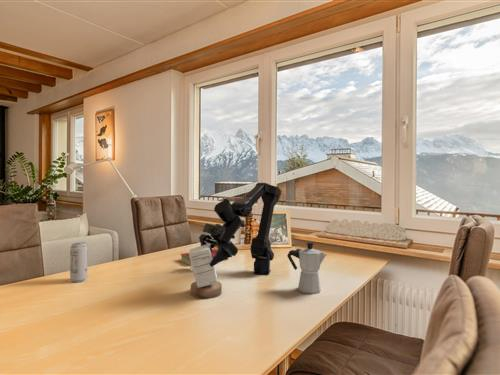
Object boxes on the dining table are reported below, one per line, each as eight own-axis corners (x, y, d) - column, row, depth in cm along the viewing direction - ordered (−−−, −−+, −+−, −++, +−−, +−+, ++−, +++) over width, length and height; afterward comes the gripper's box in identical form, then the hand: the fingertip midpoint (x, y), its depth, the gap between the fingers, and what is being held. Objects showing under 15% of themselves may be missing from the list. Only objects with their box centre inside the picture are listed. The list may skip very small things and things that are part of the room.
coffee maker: (327, 288, 119) (328, 241, 119) (325, 296, 111) (326, 245, 111) (289, 283, 124) (289, 238, 124) (284, 290, 116) (285, 242, 116)
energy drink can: (89, 280, 125) (89, 243, 125) (73, 283, 121) (73, 245, 120) (84, 277, 129) (84, 240, 129) (67, 280, 125) (67, 243, 124)
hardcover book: (228, 260, 160) (228, 252, 160) (190, 267, 148) (190, 258, 148) (216, 255, 170) (216, 248, 170) (180, 261, 158) (180, 253, 157)
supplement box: (197, 281, 116) (189, 248, 115) (217, 275, 117) (209, 243, 116) (197, 288, 108) (188, 254, 107) (218, 282, 109) (209, 248, 108)
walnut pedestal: (225, 289, 117) (225, 281, 117) (215, 300, 106) (215, 291, 106) (197, 286, 119) (197, 278, 119) (185, 296, 109) (185, 288, 109)
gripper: (203, 213, 122) (177, 244, 115) (231, 217, 107) (203, 254, 101) (219, 231, 127) (195, 262, 120) (248, 238, 113) (223, 274, 106)
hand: (203, 263), depth 112 cm, fingers closed on supplement box, 9 cm apart
